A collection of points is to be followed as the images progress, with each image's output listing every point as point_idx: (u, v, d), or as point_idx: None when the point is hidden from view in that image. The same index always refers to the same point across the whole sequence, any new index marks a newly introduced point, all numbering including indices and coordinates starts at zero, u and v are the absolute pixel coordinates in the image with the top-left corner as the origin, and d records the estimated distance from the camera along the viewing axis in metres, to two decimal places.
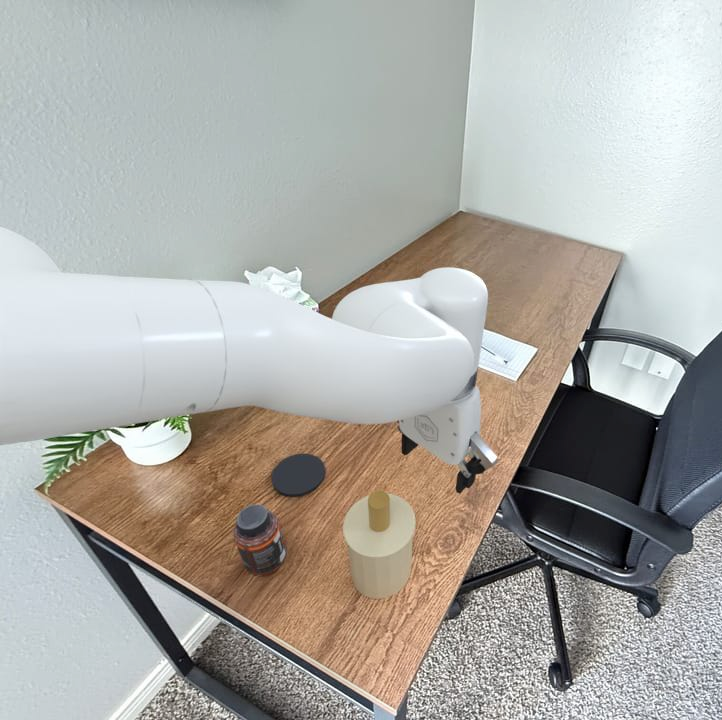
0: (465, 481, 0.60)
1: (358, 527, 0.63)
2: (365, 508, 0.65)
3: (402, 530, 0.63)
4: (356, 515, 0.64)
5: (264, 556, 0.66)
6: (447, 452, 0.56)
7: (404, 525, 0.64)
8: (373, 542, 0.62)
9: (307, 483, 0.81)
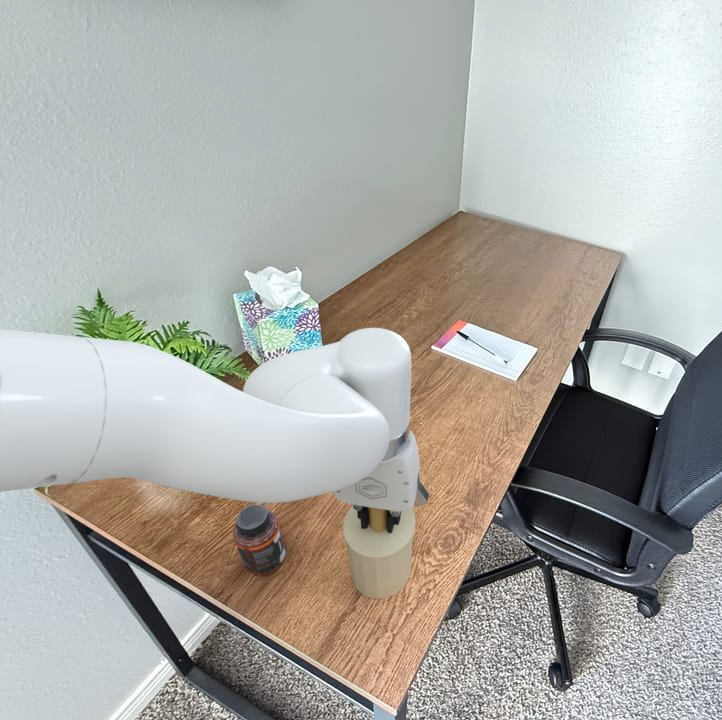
0: (394, 519, 0.62)
1: (358, 527, 0.63)
2: None
3: (402, 530, 0.63)
4: (356, 515, 0.64)
5: (264, 556, 0.66)
6: (399, 501, 0.56)
7: (404, 525, 0.64)
8: (373, 542, 0.62)
9: None
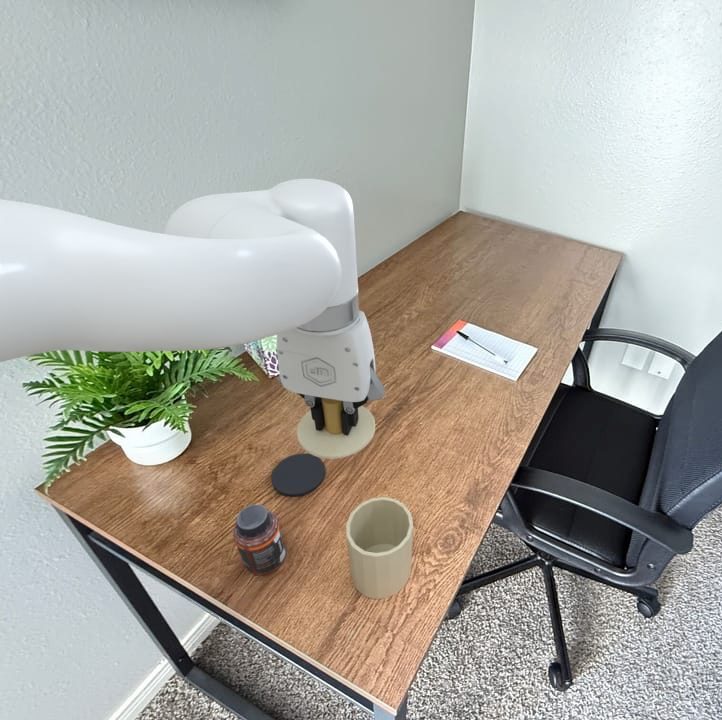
0: (350, 419, 0.58)
1: (313, 429, 0.60)
2: None
3: (360, 434, 0.60)
4: None
5: (264, 556, 0.66)
6: (350, 389, 0.52)
7: (362, 429, 0.60)
8: (328, 443, 0.58)
9: (307, 483, 0.81)
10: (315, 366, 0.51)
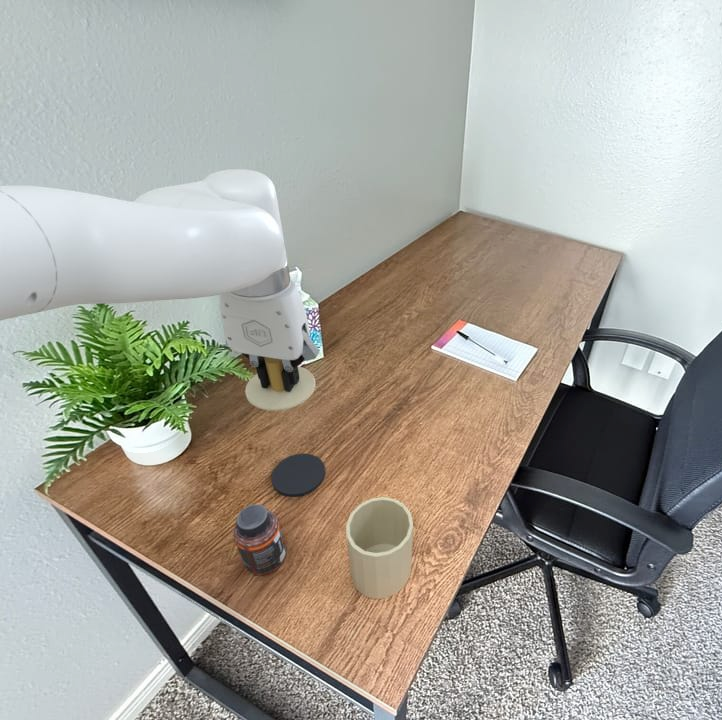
0: (290, 378, 0.68)
1: (260, 387, 0.69)
2: None
3: (300, 391, 0.69)
4: None
5: (264, 556, 0.66)
6: (285, 348, 0.62)
7: (303, 387, 0.70)
8: (271, 398, 0.68)
9: (307, 483, 0.81)
10: (254, 328, 0.60)
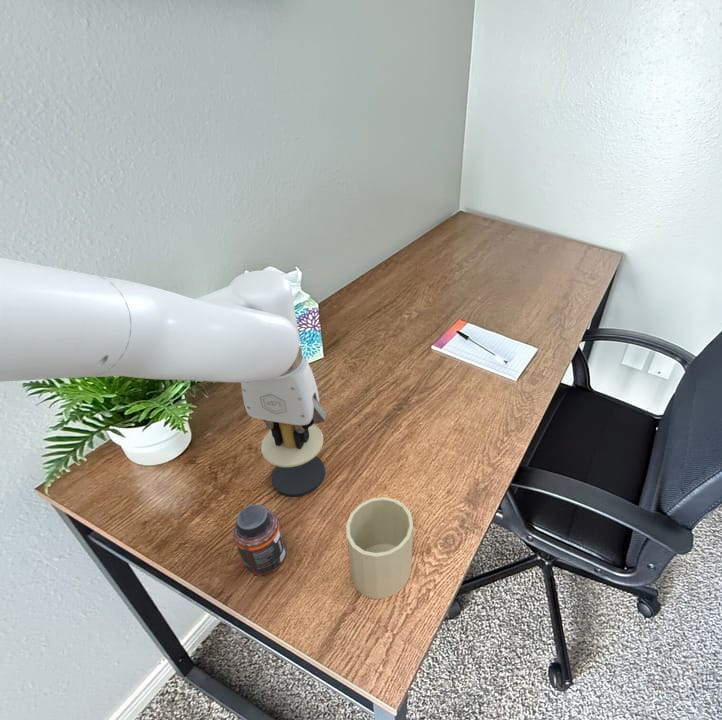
0: (301, 437, 0.76)
1: (274, 444, 0.77)
2: None
3: (310, 447, 0.78)
4: None
5: (264, 556, 0.66)
6: (297, 416, 0.70)
7: (312, 444, 0.78)
8: (284, 455, 0.76)
9: (307, 483, 0.81)
10: (270, 400, 0.68)
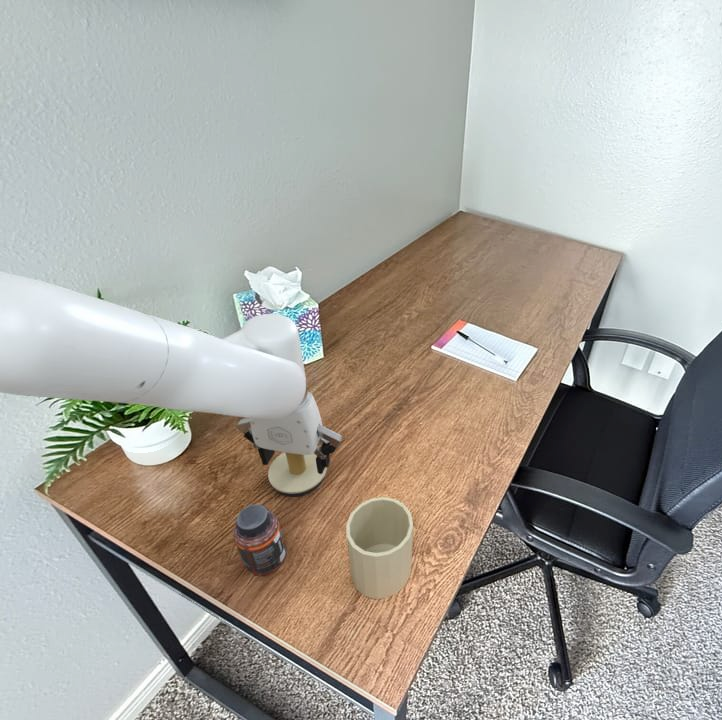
0: (323, 463, 0.79)
1: (280, 471, 0.81)
2: None
3: (315, 474, 0.82)
4: (280, 463, 0.83)
5: (264, 556, 0.66)
6: (303, 446, 0.74)
7: None
8: (290, 482, 0.80)
9: None
10: (277, 432, 0.72)
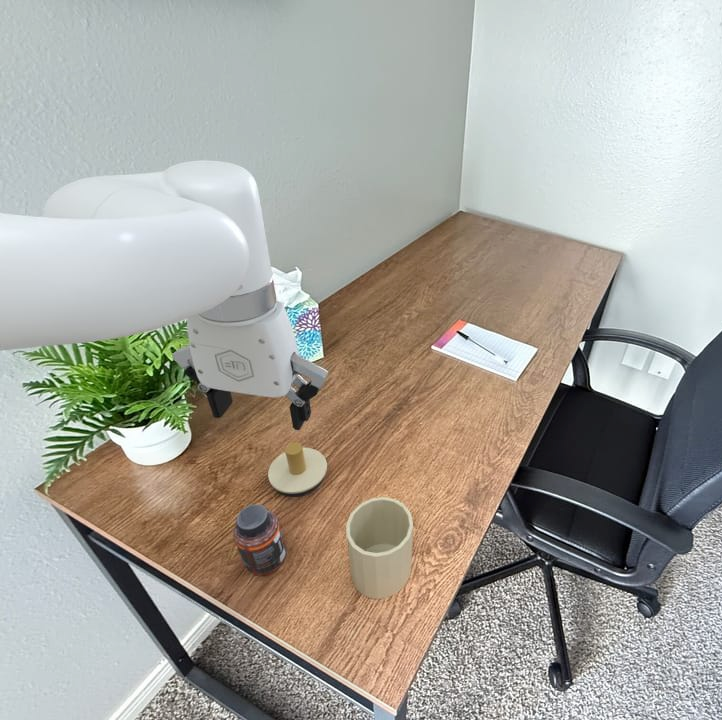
0: (301, 413, 0.55)
1: (280, 471, 0.81)
2: None
3: (315, 474, 0.82)
4: (280, 463, 0.83)
5: (264, 556, 0.66)
6: (269, 383, 0.50)
7: (317, 470, 0.82)
8: (290, 482, 0.80)
9: None
10: (230, 359, 0.48)
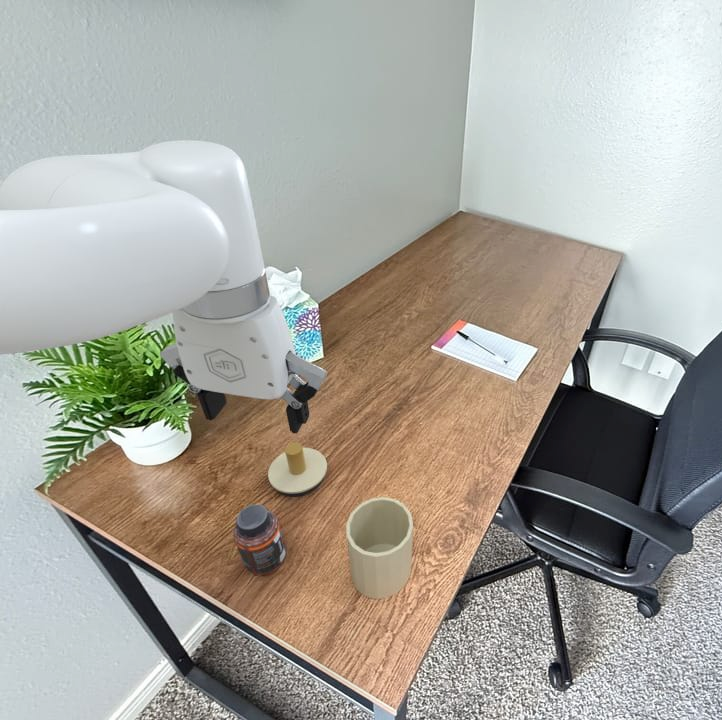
0: (298, 416, 0.51)
1: (280, 471, 0.81)
2: None
3: (315, 474, 0.82)
4: (280, 463, 0.83)
5: (264, 556, 0.66)
6: (263, 384, 0.46)
7: (317, 470, 0.82)
8: (290, 482, 0.80)
9: None
10: (220, 359, 0.45)
